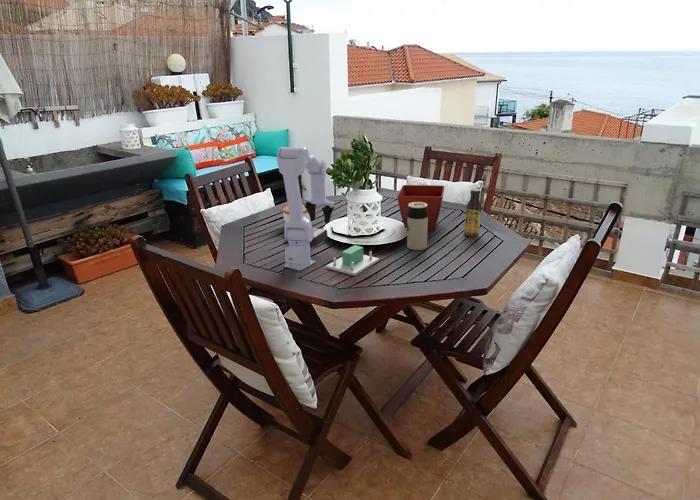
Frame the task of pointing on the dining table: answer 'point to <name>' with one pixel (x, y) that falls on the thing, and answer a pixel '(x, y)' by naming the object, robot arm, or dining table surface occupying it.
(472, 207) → the sauce bottle
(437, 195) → the plant pot
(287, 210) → the lidded bowl
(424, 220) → the travel mug
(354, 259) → the green block
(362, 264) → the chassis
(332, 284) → the dining table surface
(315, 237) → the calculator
